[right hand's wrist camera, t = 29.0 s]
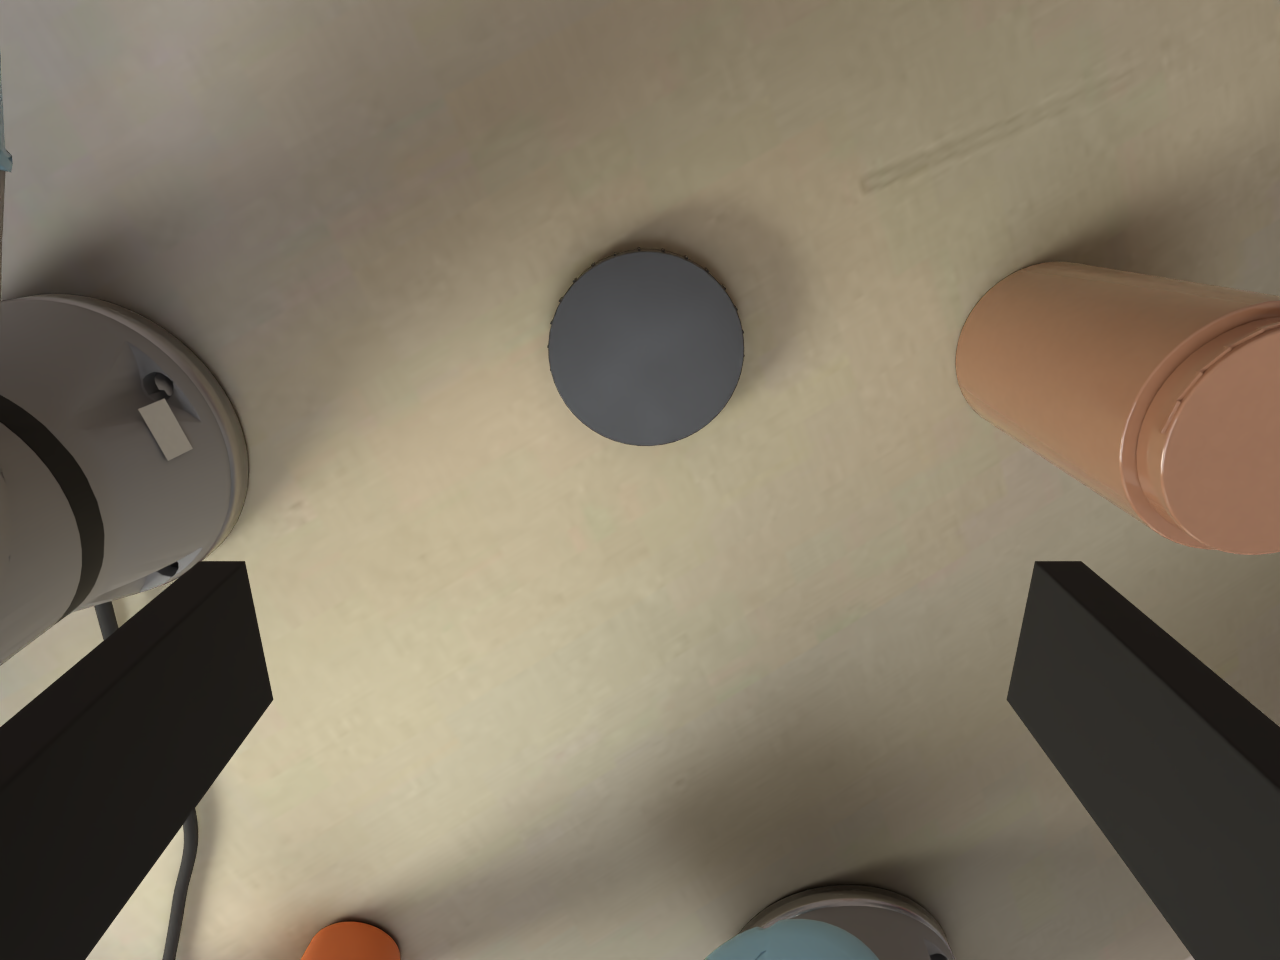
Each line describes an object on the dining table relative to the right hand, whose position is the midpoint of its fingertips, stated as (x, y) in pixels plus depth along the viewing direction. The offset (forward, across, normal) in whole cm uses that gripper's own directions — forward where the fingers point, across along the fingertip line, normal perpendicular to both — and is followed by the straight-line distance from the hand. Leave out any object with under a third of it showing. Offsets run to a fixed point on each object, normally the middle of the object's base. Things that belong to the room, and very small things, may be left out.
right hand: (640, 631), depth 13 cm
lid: (+25, 0, 0) cm, 25 cm away
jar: (+26, +20, 0) cm, 33 cm away
